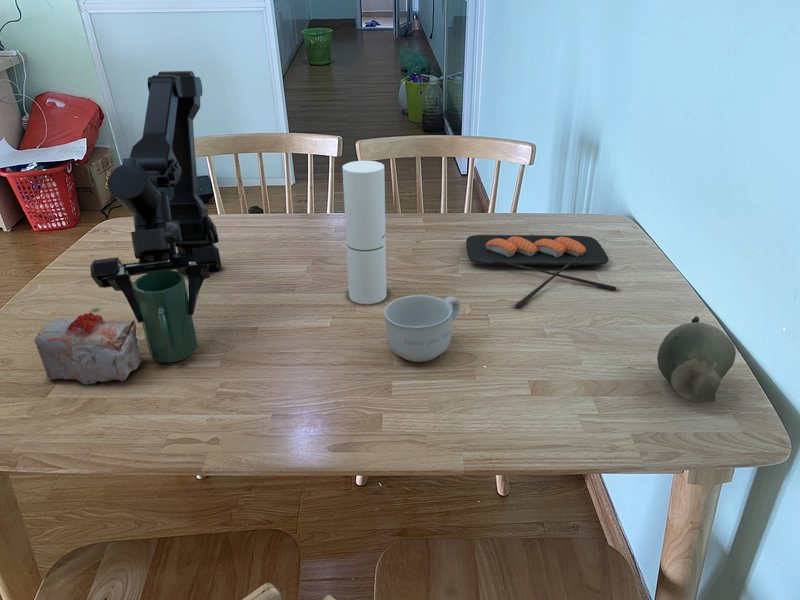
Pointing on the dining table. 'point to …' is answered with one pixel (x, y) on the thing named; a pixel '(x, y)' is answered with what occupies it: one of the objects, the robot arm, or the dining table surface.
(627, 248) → the dining table surface
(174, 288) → the mug
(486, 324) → the dining table surface
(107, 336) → the food item
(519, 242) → the sushi plate
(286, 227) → the dining table surface
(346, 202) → the cylindrical container
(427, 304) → the teacup
